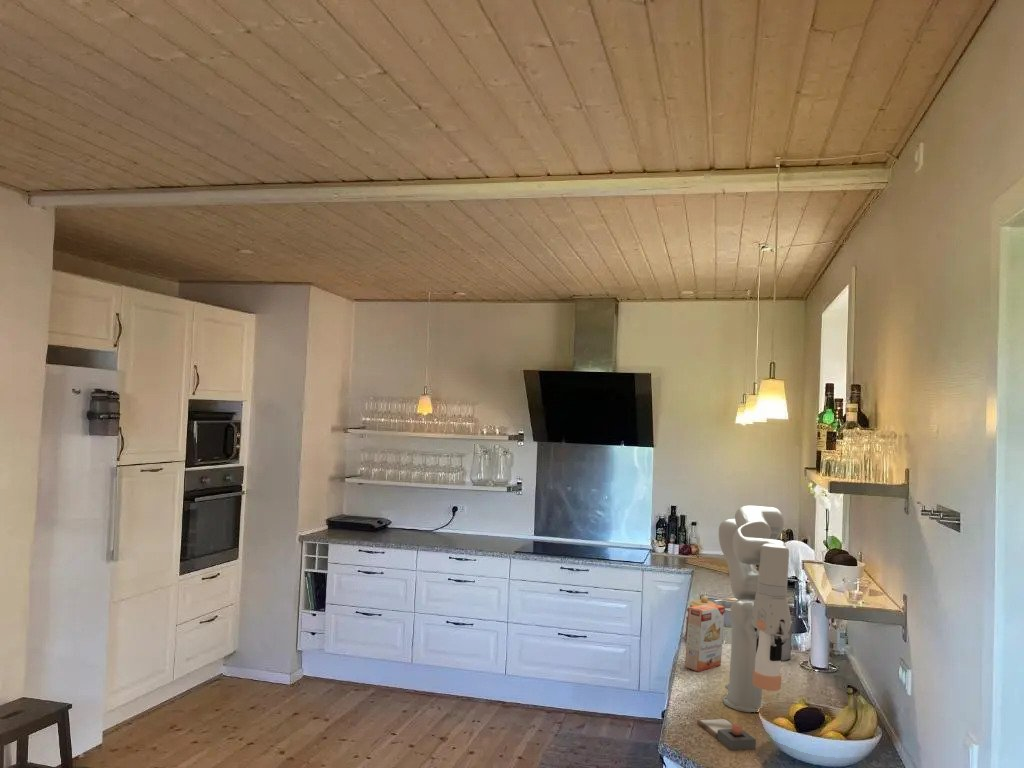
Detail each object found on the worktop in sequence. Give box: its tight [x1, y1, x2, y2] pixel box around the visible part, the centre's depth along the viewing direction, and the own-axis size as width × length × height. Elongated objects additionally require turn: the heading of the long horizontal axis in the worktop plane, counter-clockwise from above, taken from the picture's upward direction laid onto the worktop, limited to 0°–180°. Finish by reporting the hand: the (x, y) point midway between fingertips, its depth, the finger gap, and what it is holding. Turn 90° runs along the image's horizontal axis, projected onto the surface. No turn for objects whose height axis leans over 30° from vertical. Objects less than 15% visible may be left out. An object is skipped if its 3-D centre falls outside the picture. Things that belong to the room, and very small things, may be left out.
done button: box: [732, 723, 743, 735], centre depth 204 cm, size 3×3×2 cm
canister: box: [684, 595, 716, 642], centre depth 299 cm, size 13×13×18 cm
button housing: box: [716, 729, 757, 751], centre depth 203 cm, size 7×7×2 cm
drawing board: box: [696, 717, 734, 739], centre depth 212 cm, size 10×9×1 cm
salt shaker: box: [753, 619, 782, 692], centre depth 209 cm, size 7×7×19 cm
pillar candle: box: [781, 620, 793, 661], centre depth 286 cm, size 10×10×15 cm
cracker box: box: [684, 603, 726, 672], centre depth 268 cm, size 14×6×21 cm, turn 131°
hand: (768, 656), depth 209 cm, fingers closed on salt shaker, 5 cm apart
